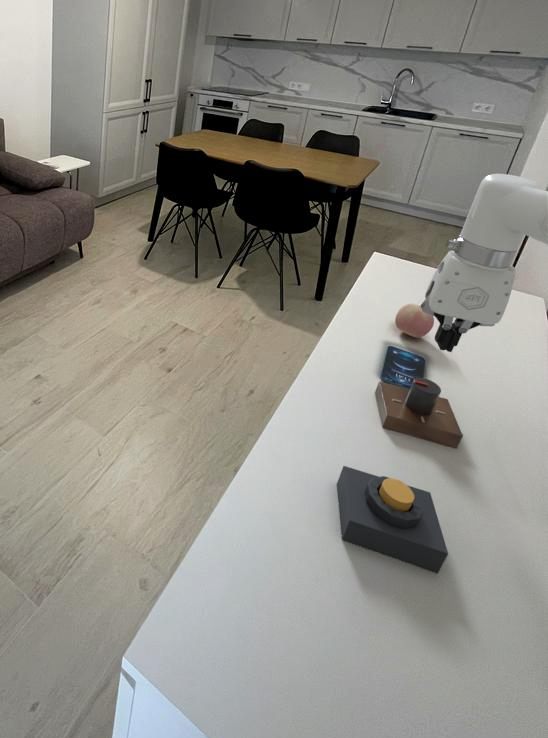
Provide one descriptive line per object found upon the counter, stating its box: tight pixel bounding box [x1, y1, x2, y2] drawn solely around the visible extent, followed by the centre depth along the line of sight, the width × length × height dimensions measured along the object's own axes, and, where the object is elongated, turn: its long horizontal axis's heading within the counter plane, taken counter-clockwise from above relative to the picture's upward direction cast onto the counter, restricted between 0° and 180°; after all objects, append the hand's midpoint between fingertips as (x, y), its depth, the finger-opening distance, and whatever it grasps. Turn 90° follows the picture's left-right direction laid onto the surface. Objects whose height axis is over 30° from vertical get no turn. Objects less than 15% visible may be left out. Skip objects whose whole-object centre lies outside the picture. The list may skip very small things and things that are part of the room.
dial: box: [405, 377, 442, 415], centre depth 91 cm, size 4×4×5 cm
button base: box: [336, 465, 449, 574], centre depth 72 cm, size 12×10×6 cm
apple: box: [394, 303, 435, 339], centre depth 118 cm, size 8×8×8 cm
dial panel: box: [374, 381, 463, 449], centre depth 93 cm, size 12×10×3 cm
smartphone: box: [379, 345, 426, 389], centre depth 107 cm, size 8×1×15 cm
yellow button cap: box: [379, 477, 414, 511], centre depth 70 cm, size 4×4×2 cm
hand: (443, 346), depth 86 cm, fingers closed
